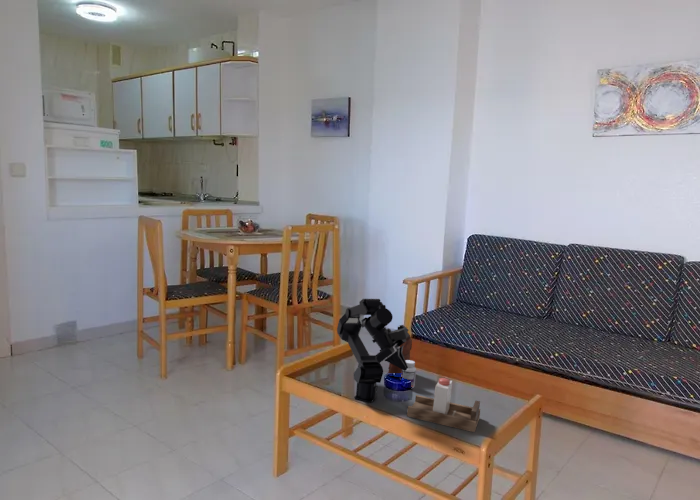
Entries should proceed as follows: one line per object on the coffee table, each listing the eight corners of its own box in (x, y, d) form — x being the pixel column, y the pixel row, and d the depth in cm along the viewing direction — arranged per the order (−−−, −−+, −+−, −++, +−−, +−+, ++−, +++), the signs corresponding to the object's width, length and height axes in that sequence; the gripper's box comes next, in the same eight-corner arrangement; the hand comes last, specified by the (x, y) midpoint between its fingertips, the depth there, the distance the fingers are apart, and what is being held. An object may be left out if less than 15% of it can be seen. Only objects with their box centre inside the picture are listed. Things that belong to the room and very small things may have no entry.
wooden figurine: (396, 368, 215) (400, 327, 213) (410, 372, 212) (414, 330, 210) (384, 376, 205) (388, 332, 203) (399, 380, 202) (403, 335, 200)
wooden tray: (406, 416, 168) (408, 398, 167) (415, 403, 179) (417, 386, 179) (474, 432, 160) (476, 413, 160) (479, 418, 171) (481, 400, 171)
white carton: (432, 415, 167) (435, 382, 166) (437, 406, 175) (440, 375, 173) (444, 418, 165) (448, 385, 164) (449, 409, 173) (452, 377, 172)
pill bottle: (403, 382, 199) (405, 358, 198) (416, 385, 197) (418, 361, 196) (398, 386, 194) (400, 361, 193) (411, 390, 192) (413, 365, 191)
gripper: (387, 324, 165) (417, 363, 162) (403, 313, 182) (430, 349, 179) (362, 343, 168) (391, 382, 166) (380, 331, 186) (406, 366, 183)
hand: (406, 369), depth 173 cm, fingers closed
